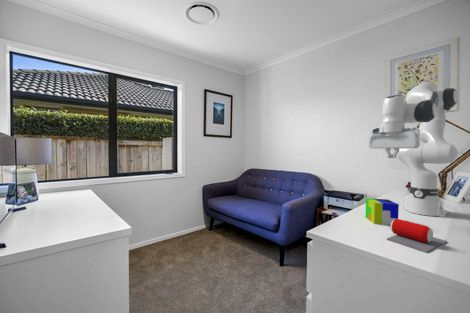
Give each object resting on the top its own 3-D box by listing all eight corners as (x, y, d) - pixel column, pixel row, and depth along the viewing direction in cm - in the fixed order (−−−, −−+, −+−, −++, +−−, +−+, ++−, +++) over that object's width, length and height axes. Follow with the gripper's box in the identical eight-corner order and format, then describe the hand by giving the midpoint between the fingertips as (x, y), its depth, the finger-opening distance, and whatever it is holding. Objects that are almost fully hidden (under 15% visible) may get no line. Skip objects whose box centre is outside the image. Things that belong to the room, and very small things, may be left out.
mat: (408, 231, 91) (408, 230, 91) (447, 242, 80) (447, 240, 80) (386, 239, 82) (387, 238, 82) (426, 252, 71) (426, 251, 71)
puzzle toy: (398, 225, 98) (398, 204, 98) (374, 223, 100) (374, 202, 100) (387, 218, 108) (387, 199, 108) (365, 217, 110) (366, 198, 110)
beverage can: (394, 215, 88) (432, 223, 78) (397, 226, 90) (435, 237, 79) (388, 223, 85) (426, 234, 75) (391, 235, 87) (428, 247, 77)
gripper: (423, 127, 93) (422, 158, 94) (374, 131, 111) (373, 157, 112) (416, 126, 90) (415, 158, 91) (367, 130, 108) (366, 157, 109)
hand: (391, 158), depth 101 cm, fingers closed
